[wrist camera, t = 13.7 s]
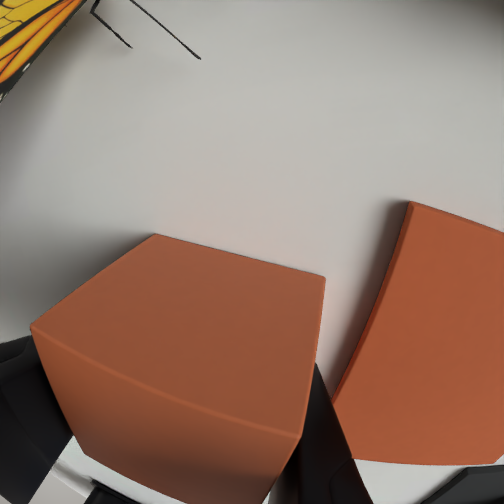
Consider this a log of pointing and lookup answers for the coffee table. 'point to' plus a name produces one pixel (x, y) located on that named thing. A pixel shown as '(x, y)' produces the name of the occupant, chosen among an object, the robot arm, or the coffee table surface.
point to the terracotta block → (186, 368)
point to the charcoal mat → (473, 487)
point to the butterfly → (36, 33)
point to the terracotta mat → (431, 349)
